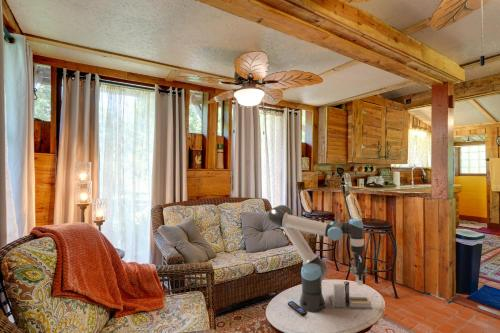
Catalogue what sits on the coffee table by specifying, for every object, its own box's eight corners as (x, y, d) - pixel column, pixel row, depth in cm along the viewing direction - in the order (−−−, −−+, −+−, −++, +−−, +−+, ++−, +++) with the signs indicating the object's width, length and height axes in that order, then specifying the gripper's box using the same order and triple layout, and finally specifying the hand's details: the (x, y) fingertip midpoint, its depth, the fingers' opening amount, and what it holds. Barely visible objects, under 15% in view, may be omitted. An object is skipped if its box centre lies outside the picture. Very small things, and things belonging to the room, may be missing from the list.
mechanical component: (369, 285, 161) (368, 268, 161) (351, 285, 163) (350, 268, 163) (367, 283, 164) (366, 267, 164) (350, 283, 166) (349, 266, 166)
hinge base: (333, 307, 160) (332, 286, 160) (330, 298, 172) (329, 278, 172) (371, 309, 157) (370, 287, 157) (365, 299, 169) (364, 278, 169)
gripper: (367, 248, 156) (369, 289, 155) (360, 241, 171) (362, 278, 171) (354, 248, 157) (356, 289, 156) (348, 241, 172) (349, 278, 172)
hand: (359, 283), depth 164 cm, fingers closed on mechanical component, 3 cm apart
